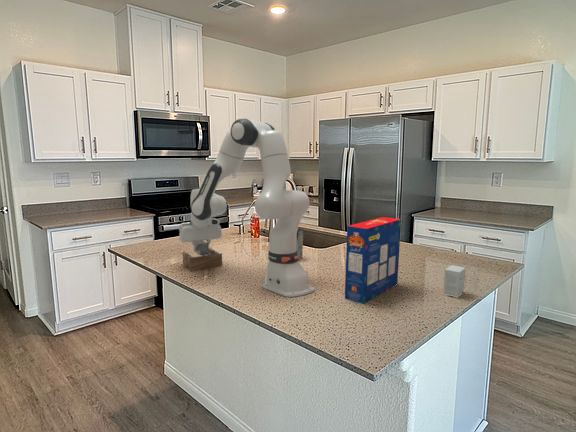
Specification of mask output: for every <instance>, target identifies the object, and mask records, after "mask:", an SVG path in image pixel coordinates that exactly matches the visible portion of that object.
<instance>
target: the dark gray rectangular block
mask: <svg viewBox="0 0 576 432" xmlns="http://www.w3.org/2000/svg"><path fill="white" fill-rule="evenodd" d="M195 246H198V250H194V249H193V251H194V252H195V253H197V254H198V255H199V256H204V255H206V254H209V251H208V243H207V241H205V240H202V241H195Z"/></svg>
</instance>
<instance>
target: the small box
mask: <svg viewBox="0 0 576 432" xmlns="http://www.w3.org/2000/svg"><path fill="white" fill-rule="evenodd" d="M465 276H466V267H463V266H460V265H459V266H458V265H453V264H450V266H448V267H447V268H446V269H445V270H444V282H443V293H444V294H449V295H454V296H459V295H460V294H461V293H462V292H463V293H464V289H465V278H466V277H465ZM443 293H442V294H443ZM463 293H462V294H463ZM462 294H461V295H462ZM461 295H460V296H461ZM460 296H459V297H460Z"/></svg>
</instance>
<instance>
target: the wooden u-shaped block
mask: <svg viewBox="0 0 576 432" xmlns="http://www.w3.org/2000/svg"><path fill="white" fill-rule="evenodd" d="M209 248H210V249H208V251H209V254H208V255H206V256H204V255H199V256H194V257H193V256H192V255H191V254H189V253H187V252H186V251H182V264H183V265H184V266H185V267H186V268H188V270H189V271H190V272H193V271H194V272H195V271H201V270H205V269H213V268H218V267H223V253H220V252H218V251H216V250H214V249H213V248H212V247H209Z"/></svg>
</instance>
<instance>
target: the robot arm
mask: <svg viewBox="0 0 576 432" xmlns="http://www.w3.org/2000/svg"><path fill="white" fill-rule="evenodd" d="M249 148H258V150H259V154H260V160H261V166H262V173H263V185H262V188H261V191H260V193H259V195H258V196H257V197H256V199H255V203H254V209H255V212H256V213H255V214H257V216H258V217H259V218H261V219H264V220H277V222H276V224H275V225H274V226H273V228H272V229H271V230H269V246H268V247H269V250H268V252H267V259H268V264H267V265H266V266H265V272H264V273H265V276H264V283H262V288H263V289H265V290H268V291H270V292H273V293H276V294H278V295H281V296H284V297H285V298H293V297H301V296H304V295H309V294H311V293H313V292H314V291H316V289H315V287H314V286H313V285H311V284H310V282H309V273H308V271H307V270H305V269H304V268H303V266H302V265H301V262H300V260H299V258H298V257H299V256H298V254H297V251H296V238H297V230H298V228H299V226H300V223H301V220H302V218H303V216H304V215H305V214H306V213H307V212H308V210H309V208H310V198H309V195H308V194H307V193H306V192H305V191H302V190H296V189H289V190H286V189H285V186H286V181H287V180H288V179H290V177H291V174H292V171H291V170H292V169H291V163H290V159H289V154H288V149H287V146H286V142H285V140H284V137H283V135H282V133H281V132H280V131H278V130H276V129H275V127H274V126H273V125H272V124H269V123H267V122H263V121H259V120H256V119H249V118H239V119H236V120H235V121H234V122H232V124H231V127H230V129H229V130H228V131H227V133H226V135H225V136H224V138H223V140H222V142H221V145H220V148H219V151H218V153H217V156H216V158H215V160H214V162H213V163H212V165H211V166H210V167H209V169H208V170H207V172H206V175H205V177H204V179H203V182H202V184H201V186H200V187H196V188H193V189H192V190H191V191H190V192H191V193H190V211H191V212H190V221H188V222H182V223H180V224H179V226H178V232H179V234H178V235H179V238H178V239H179V241H180V243H191V245H192V246H193V251H194V250H198V246H195V241H205V242H206V243H208V248H210V244H211V240H216V239H217V240H218V239H221V238H222V236H223V233H222V227H221V225H220V223H221V222H220V220H219V219H218V218H215V217H217V216H222V215H224V214H225V213H226V211H228V210H227V209H228V202H227V200H226V198H225V197H224V196H223V195H220V194H217V193H216V189H217V187H218V186H219V184H220V183H221V182H222V181H223V180H224V179H225V178H227V177H229V176H231V175H234V174H235V173H237V172H238V171H239V169H240V168H241V167H242V164H243V162H244V158H245V156H246V152H247V150H248V149H249ZM298 260H299V261H298Z"/></svg>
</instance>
